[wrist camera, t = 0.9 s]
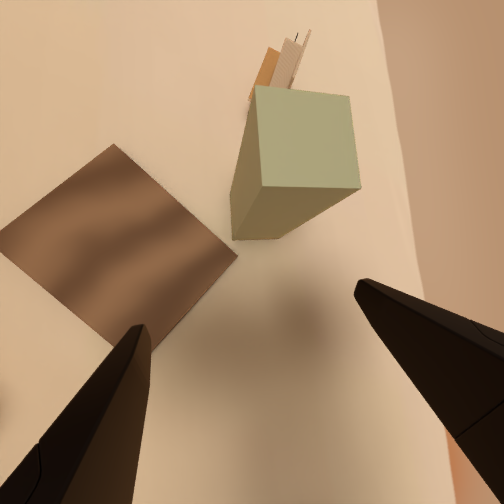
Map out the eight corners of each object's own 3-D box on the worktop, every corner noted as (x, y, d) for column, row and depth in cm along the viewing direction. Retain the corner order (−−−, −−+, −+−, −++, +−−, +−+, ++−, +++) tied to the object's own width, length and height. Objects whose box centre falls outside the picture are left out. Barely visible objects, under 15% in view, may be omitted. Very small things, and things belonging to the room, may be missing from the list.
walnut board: (236, 256, 22) (237, 255, 21) (140, 363, 19) (137, 366, 18) (117, 148, 21) (113, 143, 20) (-4, 242, 18) (-14, 240, 17)
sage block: (278, 238, 23) (361, 188, 10) (232, 240, 22) (262, 186, 9) (274, 195, 24) (349, 96, 11) (229, 194, 23) (254, 84, 10)
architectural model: (242, 125, 24) (256, 61, 17) (260, 79, 26) (280, 1, 18) (269, 138, 25) (293, 79, 18) (286, 92, 26) (315, 20, 19)
